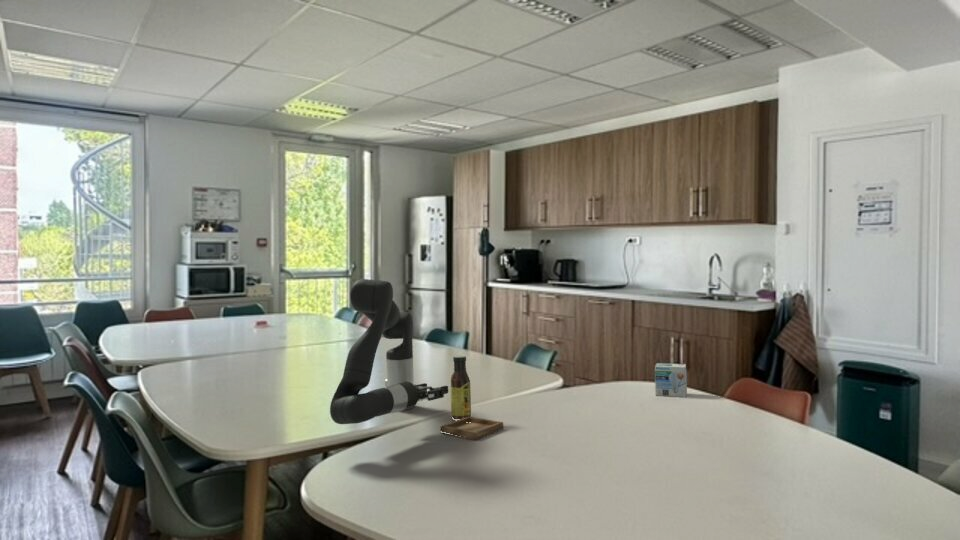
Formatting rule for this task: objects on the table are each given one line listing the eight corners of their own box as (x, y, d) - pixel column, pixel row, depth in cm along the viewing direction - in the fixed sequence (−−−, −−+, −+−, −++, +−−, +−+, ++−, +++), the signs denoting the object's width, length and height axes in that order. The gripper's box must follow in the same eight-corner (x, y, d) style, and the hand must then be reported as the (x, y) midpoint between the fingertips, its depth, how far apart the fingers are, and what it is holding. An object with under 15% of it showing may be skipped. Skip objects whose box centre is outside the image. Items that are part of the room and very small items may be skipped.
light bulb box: (655, 395, 199) (654, 365, 199) (656, 392, 205) (655, 362, 206) (686, 397, 195) (685, 366, 195) (687, 393, 201) (686, 363, 202)
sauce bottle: (468, 422, 171) (466, 358, 171) (449, 422, 172) (447, 358, 172) (473, 417, 177) (471, 355, 178) (454, 416, 179) (452, 355, 179)
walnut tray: (440, 433, 160) (440, 426, 160) (468, 423, 170) (468, 416, 170) (475, 440, 152) (475, 433, 152) (503, 429, 162) (502, 422, 163)
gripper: (415, 386, 149) (454, 377, 162) (379, 382, 157) (419, 373, 170) (416, 414, 149) (455, 402, 161) (380, 408, 157) (419, 398, 170)
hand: (436, 387), depth 166 cm, fingers open, 8 cm apart
